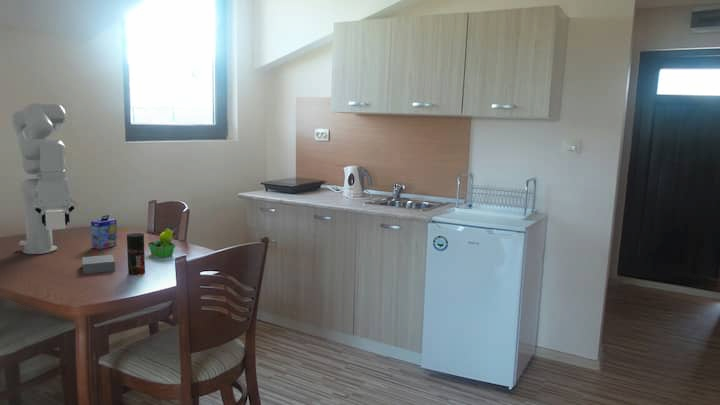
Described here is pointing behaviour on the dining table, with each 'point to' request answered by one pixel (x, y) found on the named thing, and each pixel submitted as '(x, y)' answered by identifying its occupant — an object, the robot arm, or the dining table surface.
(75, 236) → the dining table surface
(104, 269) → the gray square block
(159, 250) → the green potted plant
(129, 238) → the deodorant
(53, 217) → the cream cube
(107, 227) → the ink cartridge box
